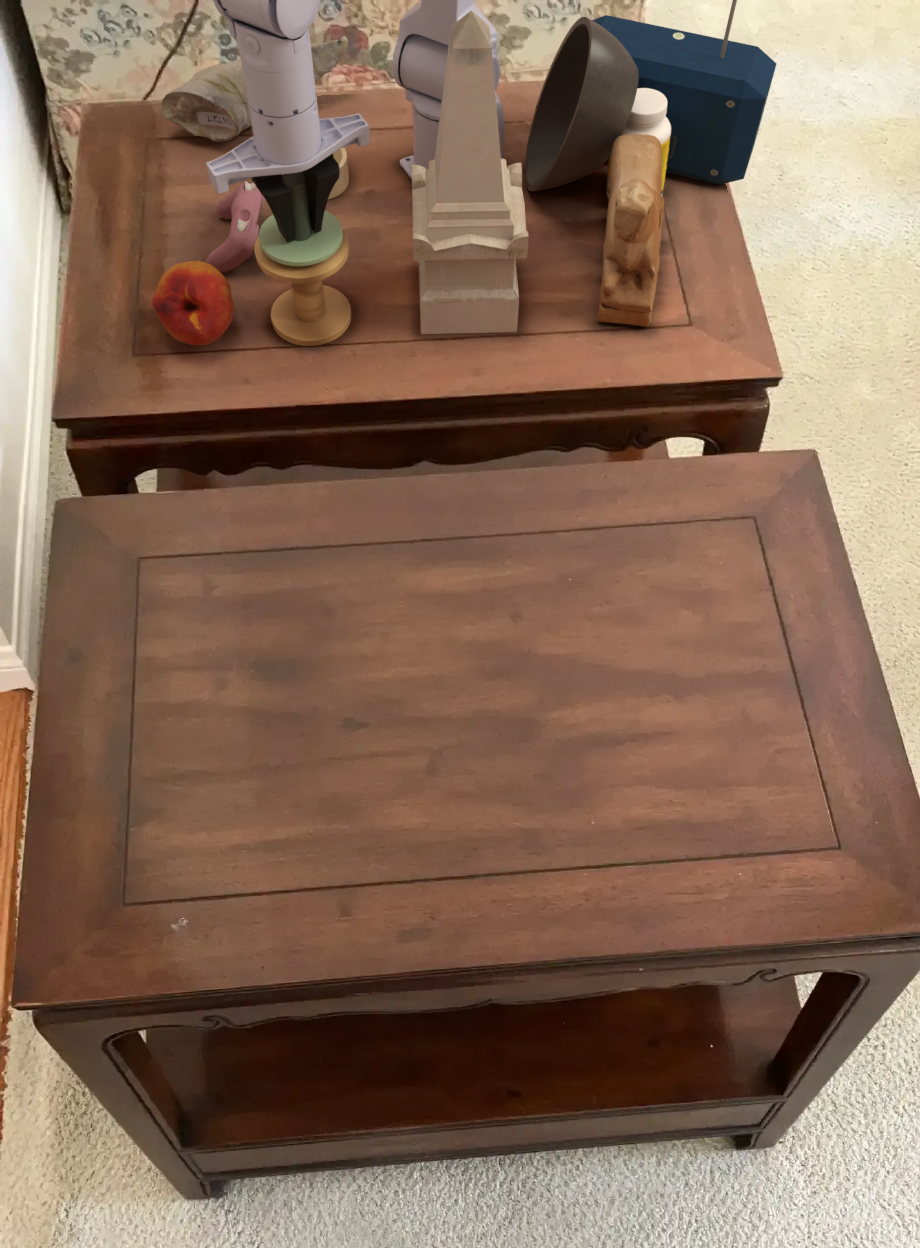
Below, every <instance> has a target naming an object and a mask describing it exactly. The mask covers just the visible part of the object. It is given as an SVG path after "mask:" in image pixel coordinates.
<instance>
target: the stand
mask: <svg viewBox="0 0 920 1248" xmlns="http://www.w3.org/2000/svg"><path fill="white" fill-rule="evenodd" d="M342 231H343V240H342V243H341V245H340V247H339V249H338V250H337V251H336V252H335V253H334V254H333V255H332V256H331V257H329V258H328V259H326V260H324V261H322V262H319V263H316V264H313V265H308V266H289V265H284V264H281V263H278V262H276V261H274V260H272V259H271V258H269V257H268V256H267V255H266V254H265V253H264V252H263V250H262V249H261V246H260V243H259V235H258V238H257V240H256V243H255V249H254V255H255V260H256V262H257V265H258V266H259V268H260V269H261V270H262V271H263V272H264V273H265V275H268V276H269V277H271V278H273V279H275V280H277V281H279V282H284V283H287V284H290V285H291V288H289V289H287V290H286V291H284V292H282V293H281V294H280V295H279V296H278V297H277V298H276V299H275V300H274V302H273V303H272V306H271V309H270V321H271V325H272V327H273V331H275V333H276V334H277V335H278V336H279V337H280V338H282V339H283V340H284V341H286V342H288V343H290V344H293V345H297V346H303V347H316V346H317V347H318V346H322V345H325V344H329V343H331V342H333V341H335V340H337V339H338V338H339V337H341V336H342V335H343V334H345V332H346V331H347V330H348V328H349V326H350V324H351V321H352V308H351V304H350V302H349V300H348V298H347V297H346V296H345V295H344V293H342V292H341V291H339V290H338V289H336V288H335V287H331V286H329V285H325V284H323V280H325V279H327V278H329V277H331V276H333V275H334V274H336V273H337V272H339V271H340V270H341V268H343V266H344V265H345V264H346V262H347V260H348V257H349V253H350V242H349V238H348V235H347V234H346V232H345V230H344V229H343V228H342Z"/></svg>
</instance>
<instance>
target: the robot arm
mask: <svg viewBox="0 0 920 1248" xmlns="http://www.w3.org/2000/svg"><path fill="white" fill-rule="evenodd" d="M212 2H213V5H214V7H215V8H216V10H217V12H218V13H219V14H220V15H221V16H223V17H224V18H225V20H226V22H227V25H228V30H229V35H230V37H232V38H233V39H234V40H235V42H236V43H237V48H238V53H239V58H240V59H239V60H241V65H242V71H243V77H244V83H245V89H246V95H247V100H248V106H249V112H250V118H251V124H252V127H251V129H252V134H253V135H252V136H251V137H249V138H247V139H246V140H245V141H243V142H242V143H240V144H238V145H237V146H235V147H234V148H232V149H230V150H229V151H228V152H226V153H225V154H224V153H223V155H221V156H218V157H216V158H214V159H213V160H209V161H207V162H205V166H206V170H207V175H208V181H209V183H210V184H211V186H212V187H213V189H214V190H215V192H216V193H217V195H221V194H224V193H227V192H229V191H230V187H229V186H232V185H236V184H238V183H242V182H245V181H247V180H250V179H251V181H252V183H254V184H255V185H256V187H257V188H258V190H259V191H260V192H261V194H262V195H263V197H264V200H265V201H266V203H267V205H268V206H269V209H270V211H271V213H272V215H274V217H275V220H276V223H277V226H278V229H279V231H280V233H281V234H282V236H283V237H284V239H285V240H286V242H288V243H289V242H291V241H294V229H293V224H292V219H291V209H290V201H291V190H290V189H289V187H288V186H287V185H286V183H285V182H284V180H283V174H290V173H298V172H301V173H303V174H304V176H305V179H306V187H307V194H308V202H309V210H310V218H311V225H312V230H313V231H314V232H315V233H317V232H320V231H321V230H322V222H323V216H324V212H325V210H326V208H327V203H328V198H329V195H330V193H331V191H332V189H333V187H334V185H335V183H336V182H337V180H338V179H339V176H340V169H339V164H338V163H337V161H336V160H335V159H334V157H333V153H334V152H335V151H337V150H338V149H341V148H346V147H349V146H352V145H357V146H358V147H361V148H362V147H366V146H368V145H371V137H370V125H369V123H368V122H367V120H366V119H365V118H364V117H363V116H362V115H361V113H359V112H358V113H354V114H349V115H345V116H338V117H336V116H335V117H327V118H320V115H319V106H318V105H319V104H318V98H317V89H316V84H315V79H314V70H313V61H312V52H311V44H312V43H311V42H312V41H311V34H310V27H311V25H313V23H314V22H315V21H316V18H317V16H318V13H319V9H320V6H321V0H212ZM471 10H472V11H473V12H474V13H475V14H476V15H478V16H479V17H480V18H481V19H482V20H484V21H485V22H486V23H487V24H488V25H489V26H490V38H491V49H492V61H493V73H494V84H495V96H496V108H497V119H498V131H499V142H500V154H501V158H502V159H505V155H504V154H505V134H506V132H505V131H506V121H505V119H506V118H505V113H504V109H503V104H502V102H501V99H500V97H499V95H498V93H497V89H498V86H499V83H500V82H499V81H500V76H501V62H500V59H499V53H498V51H499V50H498V41H499V40H498V37H499V36H498V35H499V32H498V31H497V29H496V27H495V26H494V25H493V24H492V23H491V21H490V20H489V19H488V18H487V17H486V15H485V14H484V13H483V11H482V10H481V9H480V8H479V7H478V6H477V4H476V2H475V0H420V2H419V3H416V4H414V5H413V6H411V7H410V8H409V9H408V10H407V11H406V12H405V13H404V14H403V15H402V17H401V18H400V19H399V28H398V36H397V41H396V43H395V47H394V50H393V54H392V55H393V56H392V73H393V78H394V81H395V83H396V84H397V85H398V86H399V87H400V88H402V89H404V90H405V100H407V101H408V102H410V103H411V112H412V113H411V114H412V115H411V116H412V143H413V144H412V145H413V154H412V155H409V156H406V157H403V158H401V159H400V160H399V166H400V167H401V168H402V169H403V171H404V172H405V173H406V175H408V177H409V178H410V180H412V164H413V165H419V166H422V167H425V168H426V169H427V170H428V169H429V161H431V160H435V152H436V144H437V136H438V128H439V120H440V112H441V104H442V96H443V88H444V80H445V71H446V63H447V55H448V47H449V39H450V31H451V26H452V25H453V24H454V23H456V22H457V21H458V20H460V19H461V18H462V17H464V16H465V15H466V14H467V13H469V12H470V11H471Z"/></svg>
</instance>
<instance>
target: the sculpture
mask: <svg viewBox="0 0 920 1248" xmlns="http://www.w3.org/2000/svg"><path fill="white" fill-rule="evenodd" d="M608 189H609V195H610V198H608V203H607V215H606V227H605V237H604V243H603V250H602V251H603V257H602V268H601V269H602V270H601V280H600V281H601V282H600V292H599V301H598V310H597V311H598V312H597V320H598V322H599V323H600V322H601V323H613V324H623V325H631V326H640V327H650V326H651V324H652V318H653V317H652V316H653V307H654V303H655V300H656V293H657V283H658V276H659V270H660V262H661V258H660V251H661V245H662V239H661V238H662V232H663V231H662V229H663V228H662V227H663V221H664V220H663V219H664V211H665V197H663V195H662V196H661V189H662V147H661V143H660V141H659V140H658V139H657V138H656V137H655V136H652V135H649V134H646V135H644V134H627V135H621V136H619V137H617V138H616V139H615V141H614V143H613V148H612V155H611V165H610V175H609V188H608Z"/></svg>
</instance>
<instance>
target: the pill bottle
mask: <svg viewBox="0 0 920 1248" xmlns="http://www.w3.org/2000/svg"><path fill="white" fill-rule="evenodd" d="M666 113H667V99H666V97H665V96H664V95H663V94H662V93H661V92H659V91H657V90H654V89H649V88H638V89H637V92H636V97H635V101H634V104H633V107H632V110H631V113H630V116H629V119H628V121H627V124H626V126H625V128H624V131H623V133H622V135H627V134H644V135H646V134H649V135H652V136H655V137H656V138H657V139H658V140H659V141H660V143H661V147H662V189H661V196H662V197H663V194H664V190H665V182H666V168H667V160H668V153H669V145H670V137H671V125H670V122H669V120H668V118H667V117H666ZM611 155H612V153H611ZM611 155H610V156H609V160H607V162H608V163H607V174H606V188H605V189H606V190H605V192H606V196H607V198H608V199H609V198H610V195H609V189H608V188H609V175H610V165H611Z"/></svg>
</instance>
